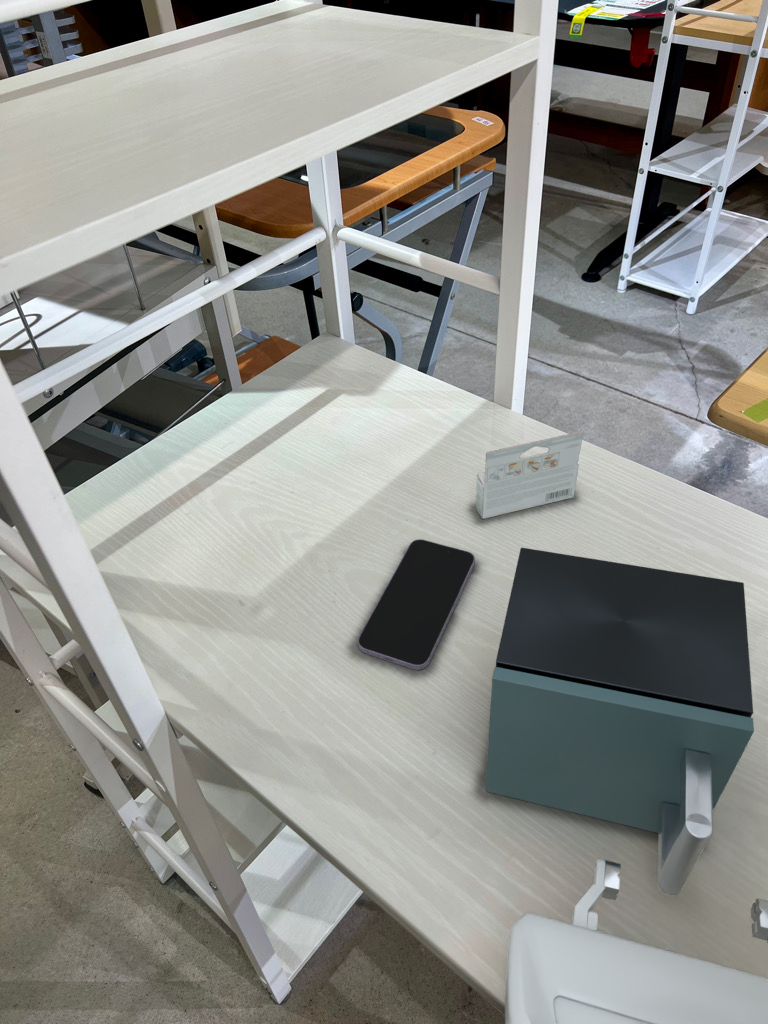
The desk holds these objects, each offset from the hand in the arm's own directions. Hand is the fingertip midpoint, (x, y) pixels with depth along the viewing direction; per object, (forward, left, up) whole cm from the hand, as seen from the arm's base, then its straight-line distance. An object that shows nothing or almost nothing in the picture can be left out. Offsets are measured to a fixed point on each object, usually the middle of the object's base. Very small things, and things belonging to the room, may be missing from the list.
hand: (685, 883), depth 47 cm
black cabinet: (+6, -13, -8) cm, 17 cm away
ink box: (+16, -41, -8) cm, 45 cm away
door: (+6, -4, -8) cm, 10 cm away
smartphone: (+24, -24, -8) cm, 35 cm away
